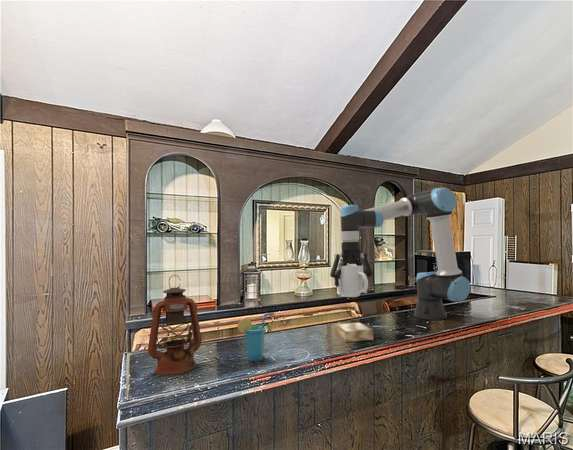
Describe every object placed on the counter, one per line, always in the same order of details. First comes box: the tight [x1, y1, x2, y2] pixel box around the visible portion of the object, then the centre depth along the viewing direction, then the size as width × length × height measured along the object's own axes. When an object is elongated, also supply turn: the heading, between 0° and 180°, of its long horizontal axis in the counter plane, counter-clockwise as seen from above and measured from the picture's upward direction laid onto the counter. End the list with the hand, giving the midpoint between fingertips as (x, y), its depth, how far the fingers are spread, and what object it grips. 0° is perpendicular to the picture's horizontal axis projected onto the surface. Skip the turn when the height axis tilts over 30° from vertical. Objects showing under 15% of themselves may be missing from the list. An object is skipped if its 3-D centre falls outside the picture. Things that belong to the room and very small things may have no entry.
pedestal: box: [334, 322, 374, 343], centre depth 134 cm, size 12×12×4 cm
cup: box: [236, 312, 275, 362], centre depth 111 cm, size 14×8×15 cm, turn 123°
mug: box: [336, 263, 369, 298], centre depth 134 cm, size 15×11×13 cm
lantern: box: [147, 274, 203, 376], centre depth 105 cm, size 17×13×30 cm
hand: (352, 293), depth 135 cm, fingers closed on mug, 11 cm apart
